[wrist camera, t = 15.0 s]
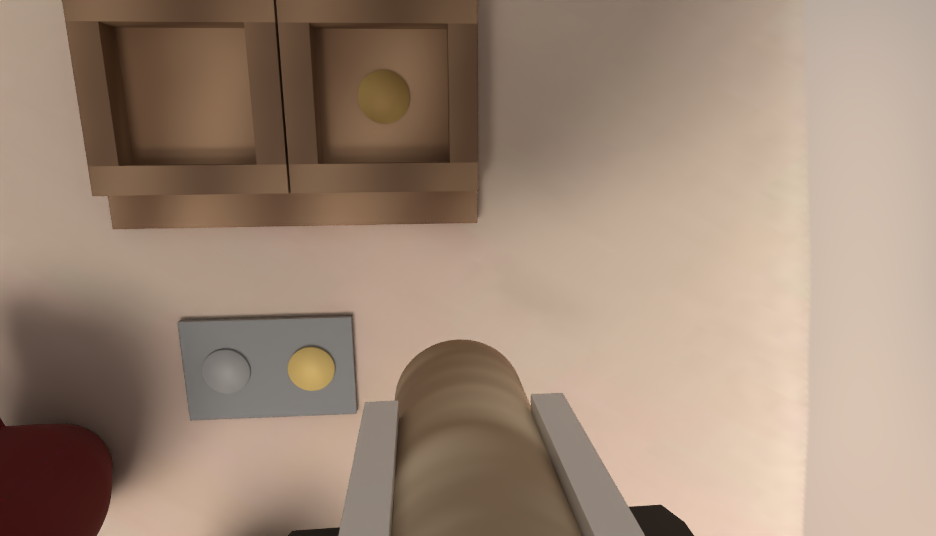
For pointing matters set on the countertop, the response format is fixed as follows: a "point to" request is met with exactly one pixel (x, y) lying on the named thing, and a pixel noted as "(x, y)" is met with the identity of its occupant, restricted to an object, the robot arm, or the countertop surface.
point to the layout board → (278, 110)
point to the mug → (53, 480)
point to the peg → (472, 451)
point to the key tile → (268, 367)
